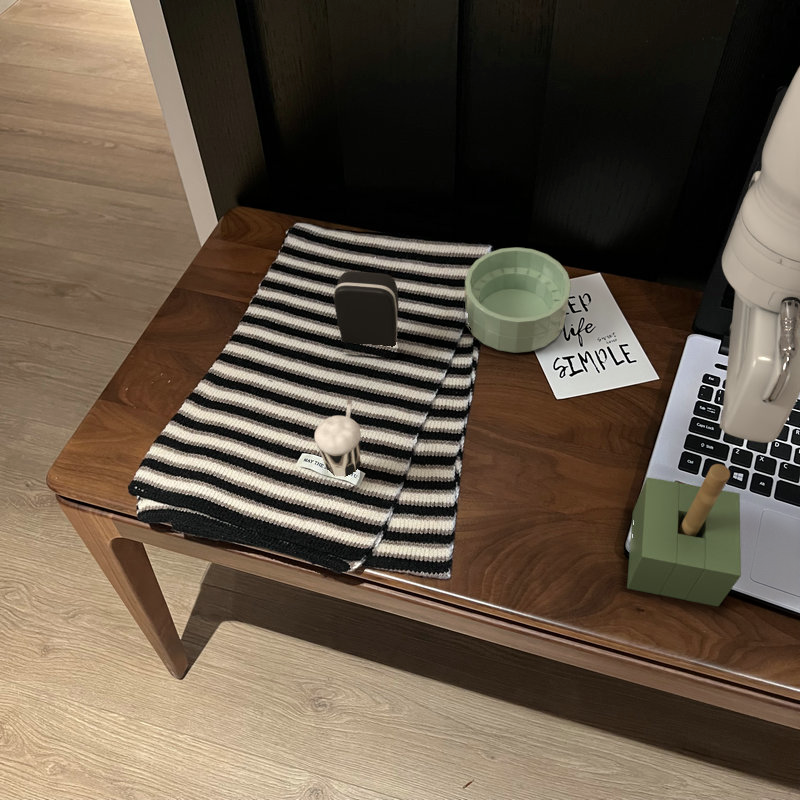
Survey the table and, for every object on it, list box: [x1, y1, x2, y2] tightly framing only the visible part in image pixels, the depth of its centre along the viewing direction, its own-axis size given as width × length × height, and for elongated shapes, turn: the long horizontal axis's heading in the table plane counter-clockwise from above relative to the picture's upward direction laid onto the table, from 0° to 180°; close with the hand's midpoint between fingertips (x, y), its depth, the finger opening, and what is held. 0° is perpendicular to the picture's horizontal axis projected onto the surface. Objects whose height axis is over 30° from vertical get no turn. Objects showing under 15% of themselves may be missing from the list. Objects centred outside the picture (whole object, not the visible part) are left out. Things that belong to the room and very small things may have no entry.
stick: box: [678, 463, 731, 537], centre depth 70 cm, size 2×2×16 cm
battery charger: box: [333, 270, 399, 347], centre depth 90 cm, size 7×4×11 cm, turn 81°
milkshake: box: [314, 399, 362, 477], centre depth 79 cm, size 5×5×10 cm
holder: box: [626, 476, 742, 607], centre depth 73 cm, size 8×8×7 cm
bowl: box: [463, 247, 572, 354], centre depth 93 cm, size 12×12×6 cm
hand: (735, 379), depth 64 cm, fingers open, 8 cm apart
